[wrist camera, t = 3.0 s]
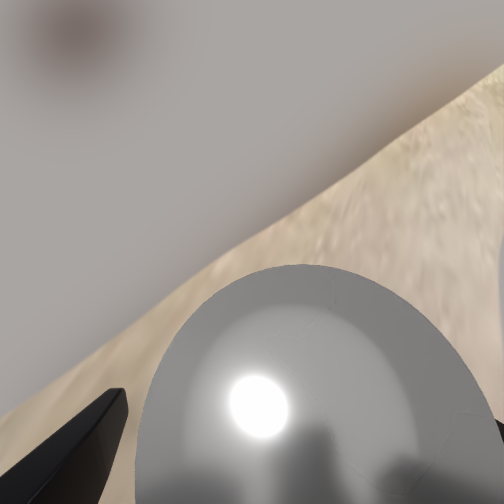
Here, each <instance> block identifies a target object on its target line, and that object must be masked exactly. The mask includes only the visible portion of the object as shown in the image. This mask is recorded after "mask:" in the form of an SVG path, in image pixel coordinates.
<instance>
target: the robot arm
mask: <svg viewBox="0 0 504 504" xmlns="http://www.w3.org/2000/svg"><path fill="white" fill-rule="evenodd" d="M127 417H128V403H127V397H126V392H125V389H124V388H110V389H108V390H107V391H106V392H104V393H103V394H102V395H101V396H99V397H98V398H97V399H96V400H94V401H93V402H92V403H91V404H89V405H88V406H87V407H86V408H85V409H83V410H82V411H81V412H80V413H78V414H77V415H76V416H75V417H73V418H72V419H71V420H70V421H68V422H67V423H66V424H65V425H64V426H62V427H61V428H60V429H59V430H57V431H56V432H55V433H54V434H52V435H51V436H50V437H49V438H47V439H46V440H45V441H44V442H43V443H41V444H40V445H39V446H38V447H36V448H35V449H34V450H33V451H31V452H30V453H29V454H28V455H26V456H25V457H24V458H23V459H22V460H20V461H19V462H18V463H17V464H15V465H14V466H13V467H12V468H10V469H9V470H8V471H7V472H5V473H4V474H3V475H2V476H1V477H0V504H98V502H99V499H100V497H101V495H102V492H103V490H104V487H105V485H106V482H107V480H108V477H109V474H110V471H111V468H112V465H113V462H114V458H115V455H116V452H117V449H118V446H119V443H120V439H121V436H122V433H123V430H124V427H125V423H126V420H127ZM495 421H496V423H497V426H498V428H499V431H500V434H501V437H502V440H503V443H504V424H503V423H501V422H499V421H498V420H496V419H495Z"/></svg>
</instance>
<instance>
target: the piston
mask: <svg viewBox="0 0 504 504" xmlns="http://www.w3.org/2000/svg"><path fill="white" fill-rule="evenodd" d="M135 502H136V504H504V443H503V440H502V437H501V434H500V431H499V428H498V426H497V423H496V421H495V418H494V416H493V414H492V412H491V409H490V407H489V405H488V403H487V400H486V398H485V396H484V395H483V393H482V391H481V389H480V387H479V386H478V384H477V382H476V380H475V378H474V377H473V375H472V373H471V372H470V370H469V369H468V367H467V366H466V364H465V363H464V361H463V360H462V358H461V357H460V356H459V354H458V353H457V351H456V350H455V349H454V348H453V346H452V345H451V344H450V343H449V342H448V340H447V339H446V338H445V337H444V336H443V334H442V333H441V332H440V331H439V330H438V329H437V328H436V327H435V326H434V325H433V324H432V323H431V322H430V321H429V320H428V319H427V318H426V317H425V316H424V315H423V314H421V313H420V312H419V311H418V310H417V309H415V308H414V307H413V306H412V305H411V304H409V303H408V302H407V301H405V300H404V299H402V298H401V297H399V296H398V295H397V294H395V293H394V292H392V291H391V290H389V289H387V288H385V287H383V286H381V285H380V284H378V283H376V282H374V281H372V280H369V279H367V278H365V277H362V276H360V275H358V274H355V273H351V272H348V271H345V270H341V269H338V268H332V267H327V266H321V265H306V264H300V265H284V266H279V267H273V268H268V269H265V270H262V271H258V272H255V273H252V274H250V275H247V276H245V277H243V278H241V279H239V280H236V281H234V282H233V283H231V284H229V285H228V286H226V287H225V288H223V289H221V290H220V291H218V292H217V293H216V294H214V295H213V296H212V297H211V298H209V299H208V300H207V301H206V302H204V303H203V304H202V305H201V306H200V307H199V308H198V309H197V310H196V311H195V312H194V313H193V314H192V316H191V317H190V318H189V319H188V320H187V321H186V323H185V324H184V325H183V326H182V328H181V329H180V330H179V332H178V333H177V334H176V336H175V337H174V339H173V341H172V342H171V344H170V345H169V347H168V349H167V350H166V352H165V354H164V355H163V358H162V360H161V362H160V364H159V366H158V369H157V371H156V373H155V375H154V377H153V380H152V383H151V386H150V389H149V392H148V395H147V398H146V401H145V404H144V408H143V413H142V418H141V422H140V427H139V432H138V440H137V449H136V459H135Z"/></svg>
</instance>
